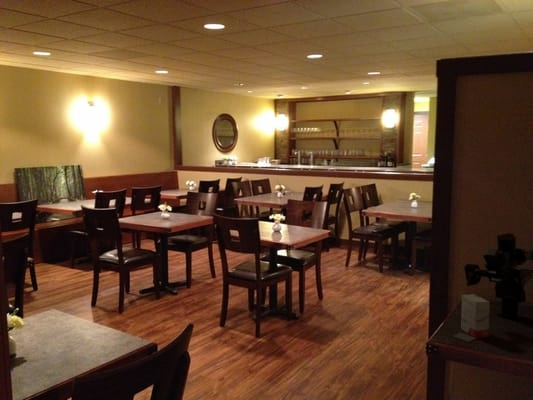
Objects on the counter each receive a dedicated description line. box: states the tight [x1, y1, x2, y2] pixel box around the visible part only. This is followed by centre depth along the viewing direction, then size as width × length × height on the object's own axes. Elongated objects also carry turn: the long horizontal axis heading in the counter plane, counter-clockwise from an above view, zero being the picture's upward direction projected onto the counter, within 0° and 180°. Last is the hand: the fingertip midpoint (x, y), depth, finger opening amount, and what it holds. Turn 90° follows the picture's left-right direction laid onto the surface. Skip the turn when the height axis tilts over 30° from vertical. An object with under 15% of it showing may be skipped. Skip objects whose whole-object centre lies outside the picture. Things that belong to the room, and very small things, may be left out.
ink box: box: [460, 293, 490, 339], centre depth 150 cm, size 9×5×12 cm, turn 8°
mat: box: [452, 332, 477, 343], centre depth 146 cm, size 4×6×1 cm
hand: (480, 286), depth 149 cm, fingers open, 9 cm apart
